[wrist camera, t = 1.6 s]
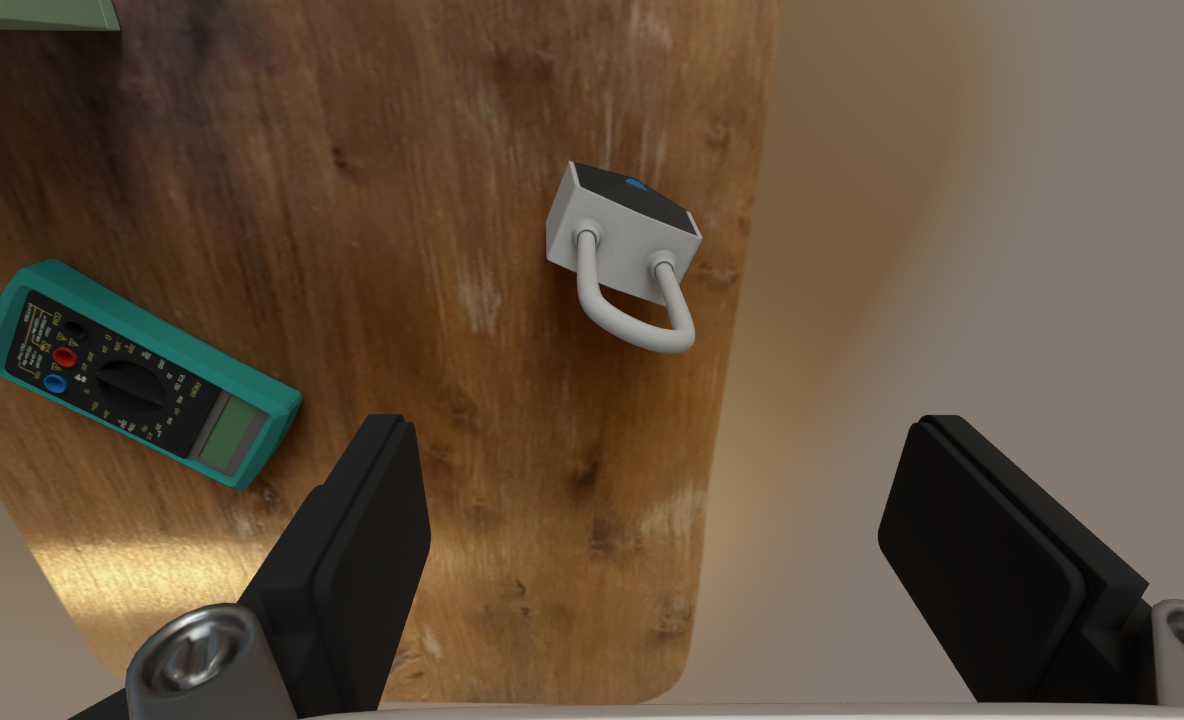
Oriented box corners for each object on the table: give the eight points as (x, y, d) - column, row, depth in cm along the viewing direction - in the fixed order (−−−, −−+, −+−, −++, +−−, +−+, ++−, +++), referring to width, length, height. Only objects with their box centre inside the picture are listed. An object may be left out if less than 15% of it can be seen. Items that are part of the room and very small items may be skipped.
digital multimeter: (47, 245, 30) (-6, 262, 27) (313, 391, 34) (289, 418, 31) (15, 347, 32) (-36, 371, 30) (265, 471, 36) (240, 502, 34)
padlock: (694, 204, 29) (785, 317, 15) (658, 277, 31) (713, 435, 17) (572, 151, 28) (557, 224, 14) (542, 230, 29) (504, 361, 16)
